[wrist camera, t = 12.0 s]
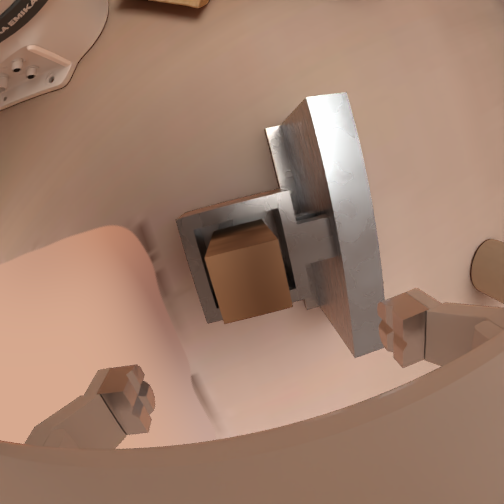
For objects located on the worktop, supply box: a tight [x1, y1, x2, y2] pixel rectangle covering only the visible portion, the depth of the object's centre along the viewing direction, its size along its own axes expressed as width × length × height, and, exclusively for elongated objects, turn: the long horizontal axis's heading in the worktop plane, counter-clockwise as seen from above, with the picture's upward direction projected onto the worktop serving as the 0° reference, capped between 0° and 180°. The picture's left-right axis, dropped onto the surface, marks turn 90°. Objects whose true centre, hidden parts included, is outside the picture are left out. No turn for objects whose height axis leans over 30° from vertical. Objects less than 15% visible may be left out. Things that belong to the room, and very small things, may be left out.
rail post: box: [205, 219, 293, 324], centre depth 21 cm, size 4×4×9 cm
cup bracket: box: [176, 92, 385, 358], centre depth 27 cm, size 15×20×12 cm
